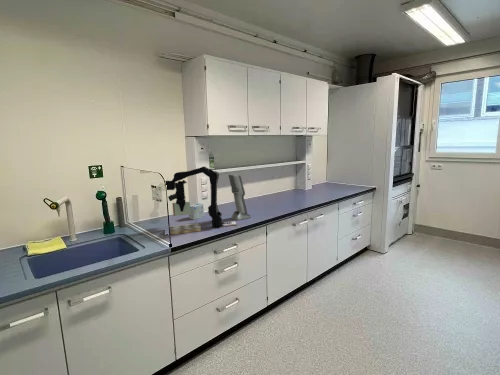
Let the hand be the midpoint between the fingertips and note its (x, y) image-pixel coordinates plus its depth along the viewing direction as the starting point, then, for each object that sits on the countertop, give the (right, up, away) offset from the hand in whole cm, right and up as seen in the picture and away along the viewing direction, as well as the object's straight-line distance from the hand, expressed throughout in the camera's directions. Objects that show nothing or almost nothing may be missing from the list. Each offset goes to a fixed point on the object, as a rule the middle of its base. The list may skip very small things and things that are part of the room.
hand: (181, 211), depth 192 cm
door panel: (0, -3, 0) cm, 3 cm away
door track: (+3, -13, -8) cm, 16 cm away
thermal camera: (+42, -7, +20) cm, 47 cm away
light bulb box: (+6, -8, +26) cm, 28 cm away
